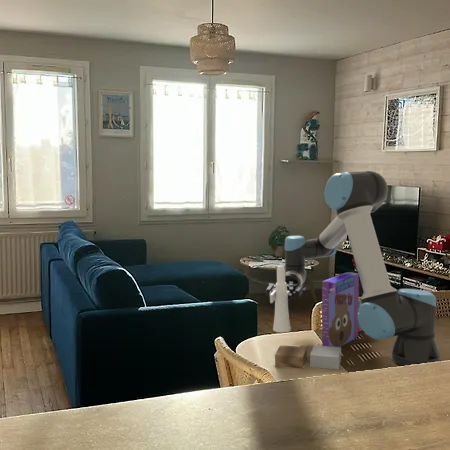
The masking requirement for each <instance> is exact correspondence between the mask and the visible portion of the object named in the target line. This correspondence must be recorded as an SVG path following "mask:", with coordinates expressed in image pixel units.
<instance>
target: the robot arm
mask: <svg viewBox="0 0 450 450" xmlns="http://www.w3.org/2000/svg"><path fill="white" fill-rule="evenodd" d="M388 192H389V188H388V184H387V181H386V179H385V178H384V176H383V175H381V174H380V173H378V172H376V171H372V170H363V171H343V172H339V173H338V172H337V173H334V174H333V175H331V176H330V177H329V179H328V180H327V182H326V185H325V188H324V201H325V203H326V205H327V206H328V207H329V208H330V209H332V210H334V211H335V212H336V215H337V216H336V217H335V218H334V219H333V220H332V221H331V222H330V223H329V224H327V225H328V226H327V227H326V228H325V229H324V230H322V232H321V233H320V234H319V235H318V236H317V237H316V238H312V239H306V238H305V237H304V236H303V235H288V236H286V237H285V239H284V260H285V261H284V262H285V263H284V269H285V283H287V292H286V293H285V294H284V304H286V303H287V302H288V303H289V300H292V299H294V298H295V299H299V298H300V297H301V296H302V295H303V294H304V293H306V292H307V289H306V288H307V285H306V284H305V281H306V280H307V271H306V260H312V259H321V258H328V257H331V256H334V255H335V254H336V253H337V250H338V245H339V244H340V243H341V242H342V241H343V240H344V239H346V237H347V236H348V237H347V238H348V240H349V244H350V245H349V246H350V248H351V252H352V256H353V259H354V262H355V266H356V270H357V272H358V273H357V274H359V282H360V284H361V288H362V291H363V294H362V296H361V297H360V301H361V303H362V305H361V306H360V307H359V309H358V311H359V312H358V313H357V317H358V322H359V324H360V326H361V328H362V331H363V333H364V334H366V335H368V336H369V338H372V339H373V340H384V339H385V340H386V339H391V338H393V337H396V338H395V341H394V344H393V345H392V349H391V351H390V352H391V355H390V356H391V360H392V362H394V361H395V362H394V363H395V364H397V363H398V365H400V366H403V365H411V364H420V363H427V362H435V361H440V362H441V353H440V350H439V346H438V344H437V341H436V322H437V319H436V318H437V317H436V315H437V297H436V296H435V294H433V293H432V292H429V291H426V290H421V289H415V288H399V289H396V288H395V287H393V286H392V285H391V282H390V277H389V274H388V271H387V267H386V265H385V261H384V257H383V255H382V251H381V247H380V244H379V240H378V237H377V233H376V230H375V226H374V224H373V220H372V219H373V218H372V216H371V213H375V212H376V211H377V210H378V209H379V208H381V206H382V205H383V204H384V202H385V201H386V199H387V196H388ZM275 290H276V284H274V283H272V282H269V283H268V286H267V288H266V291H265V292H266V297H267V298H268V299H269V303H270V304H273V303H275Z"/></svg>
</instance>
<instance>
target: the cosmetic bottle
mask: <svg viewBox="0 0 450 450" xmlns="http://www.w3.org/2000/svg"><path fill="white" fill-rule="evenodd" d="M275 285H276V290H275V300H274V318H273V326H272V327H273V328H272V331H274V332H276V333H288V332H291V330H292V327H291V322H290V316H289V301H288V302H287V303H286V304H284V294H285V293H286V292H287V283H285V265H277V268H276V283H275Z"/></svg>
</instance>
